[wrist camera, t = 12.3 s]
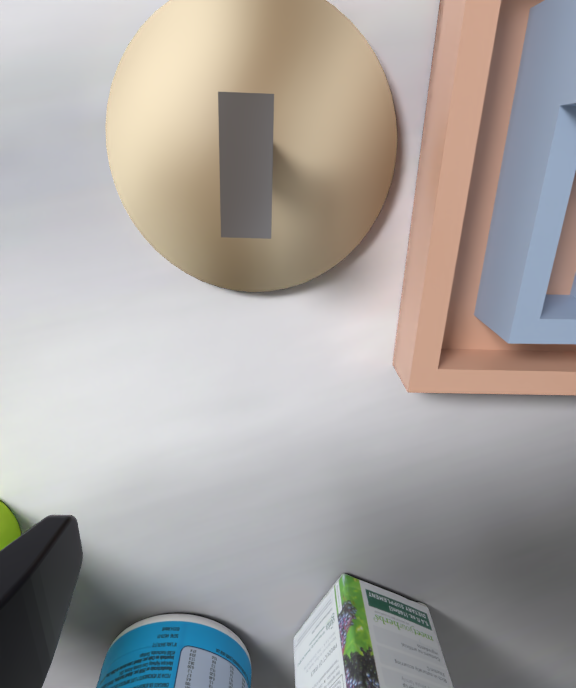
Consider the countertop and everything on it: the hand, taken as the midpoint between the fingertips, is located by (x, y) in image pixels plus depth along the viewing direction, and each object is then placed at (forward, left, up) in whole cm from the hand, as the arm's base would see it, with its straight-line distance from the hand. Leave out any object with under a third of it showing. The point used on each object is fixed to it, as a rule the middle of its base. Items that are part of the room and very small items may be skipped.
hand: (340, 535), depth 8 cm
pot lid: (+2, -6, -12) cm, 14 cm away
